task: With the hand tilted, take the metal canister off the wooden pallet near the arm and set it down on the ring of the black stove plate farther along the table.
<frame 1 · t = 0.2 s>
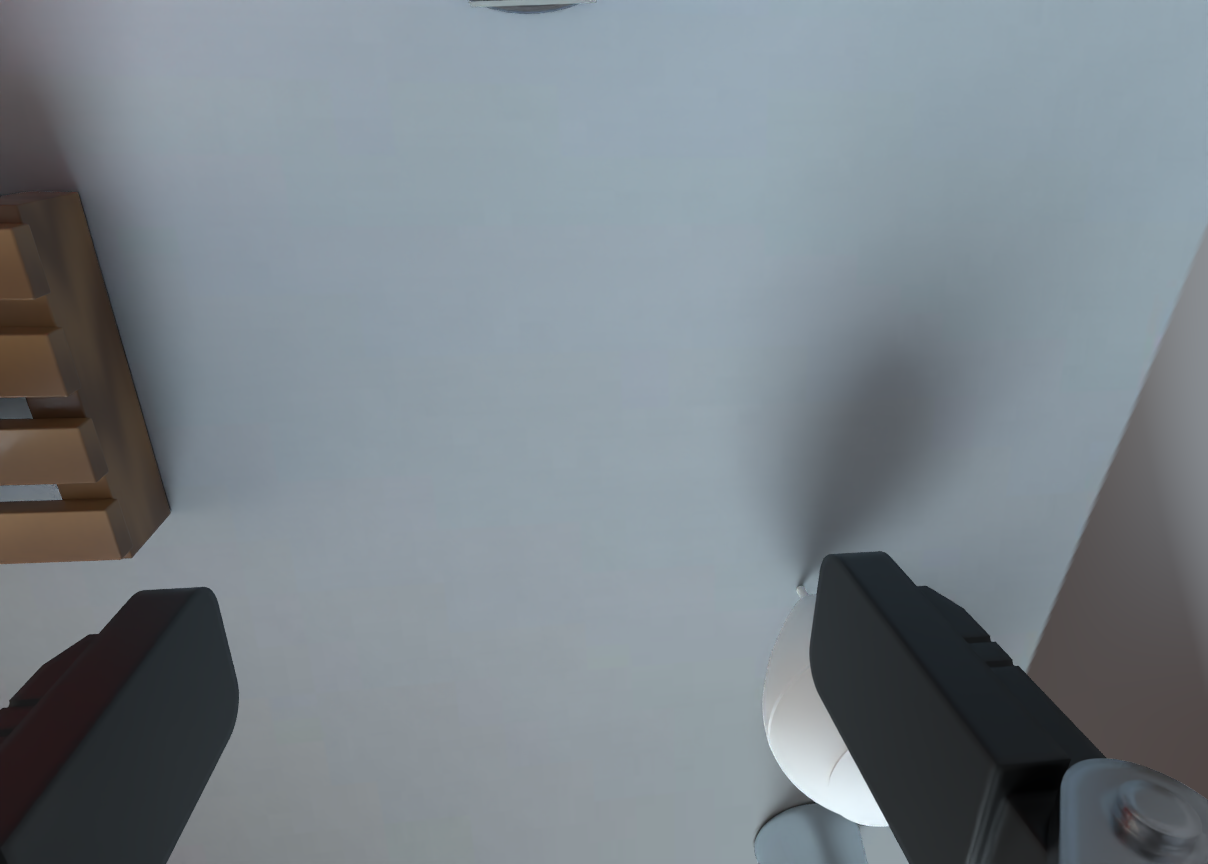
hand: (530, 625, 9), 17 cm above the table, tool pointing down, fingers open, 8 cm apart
spinning top: (798, 584, 32), on the table
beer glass: (803, 834, 40), on the table
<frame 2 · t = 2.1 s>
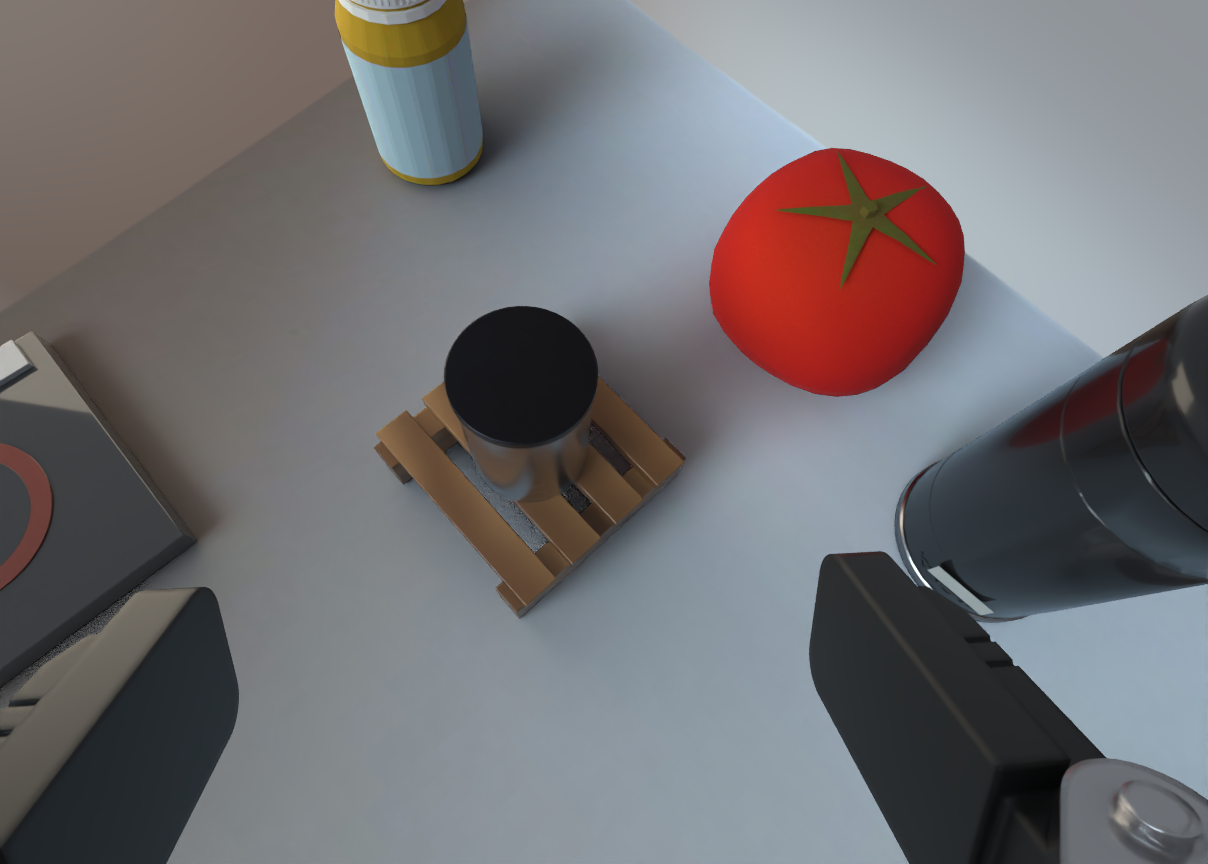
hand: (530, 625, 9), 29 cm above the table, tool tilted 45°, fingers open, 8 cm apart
tomato: (799, 326, 45), on the table
metal canister: (530, 447, 36), point 4 cm above the table, touching wooden pallet
bottle: (433, 152, 48), on the table
wooden pallet: (533, 469, 40), on the table
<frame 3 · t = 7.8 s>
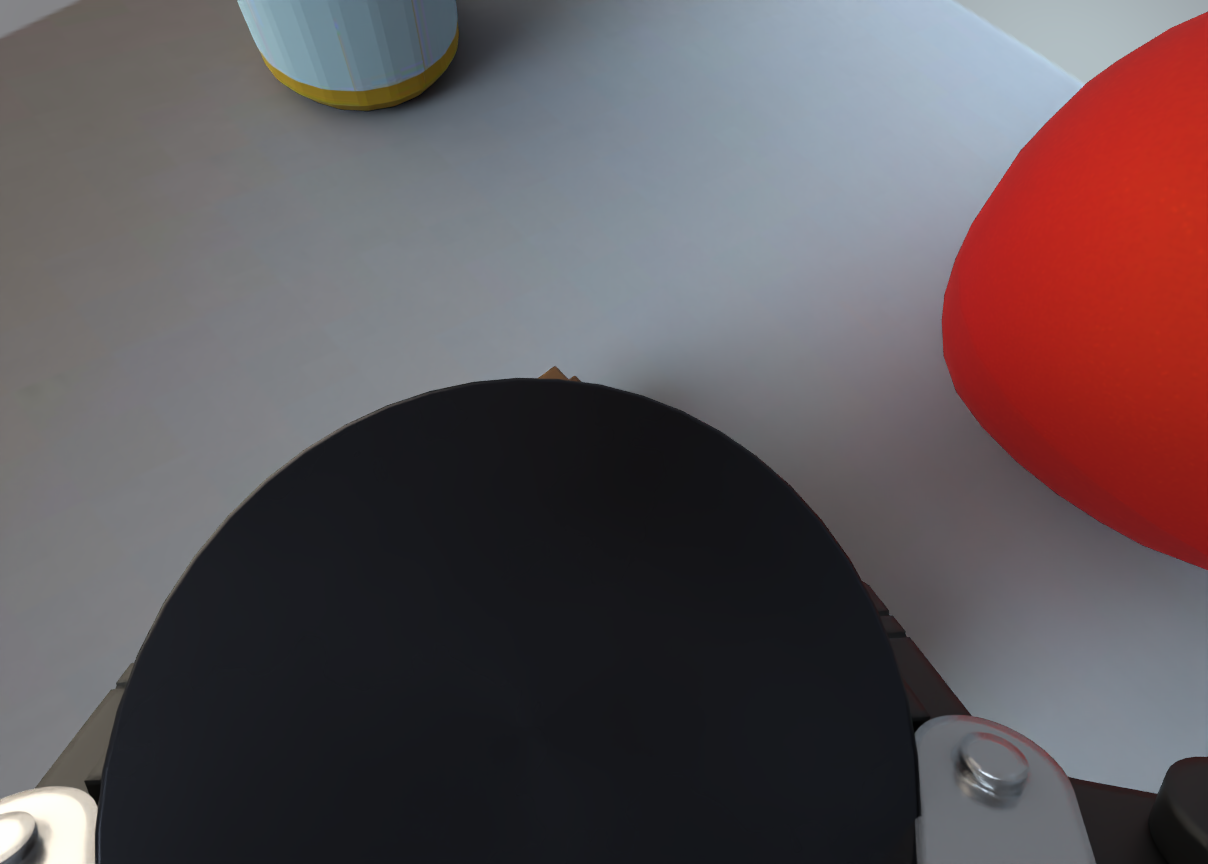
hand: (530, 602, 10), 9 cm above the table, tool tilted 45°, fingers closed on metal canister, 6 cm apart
tomato: (1079, 398, 22), on the table
metal canister: (540, 730, 14), point 4 cm above the table, touching wooden pallet, gripper
bottle: (366, 55, 26), on the table
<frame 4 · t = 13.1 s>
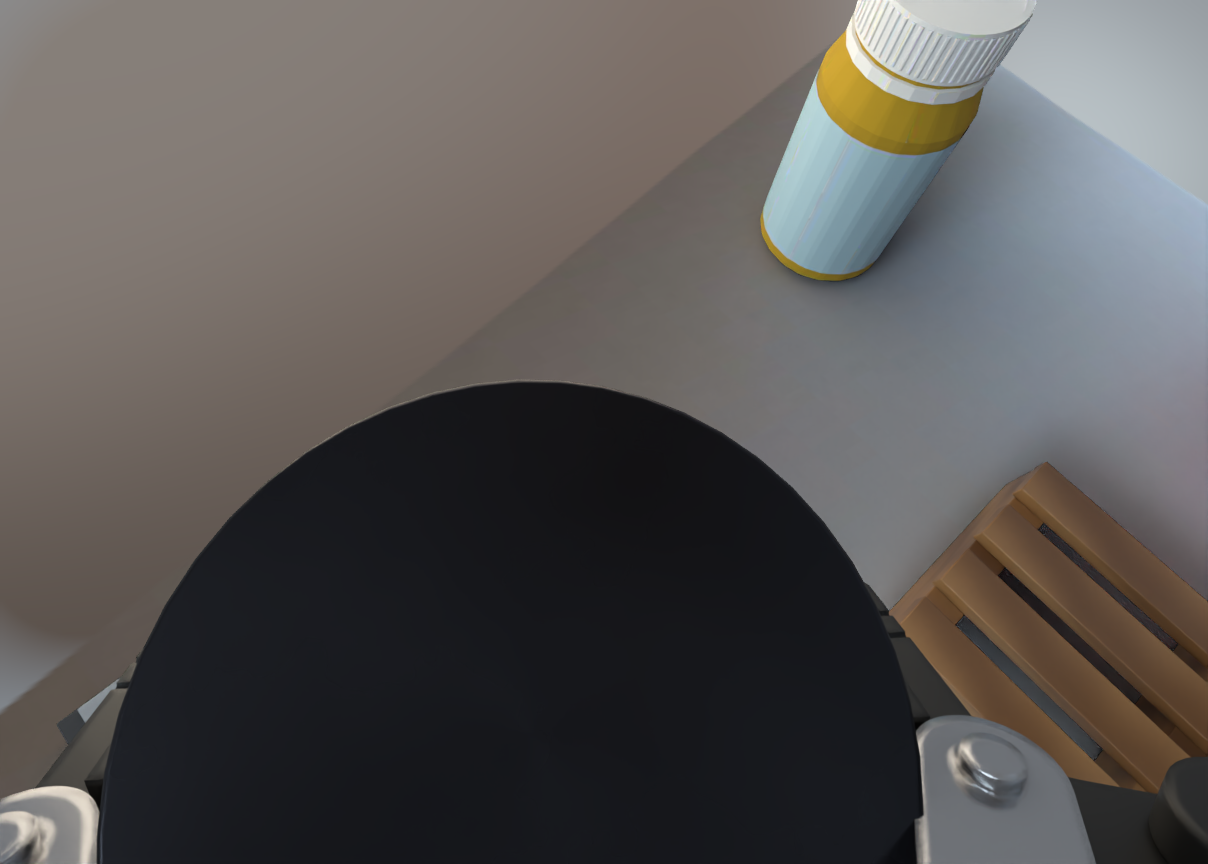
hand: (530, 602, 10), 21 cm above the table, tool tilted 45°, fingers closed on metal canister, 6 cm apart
metal canister: (540, 731, 14), point 17 cm above the table, touching gripper
bottle: (816, 238, 40), on the table
stove: (365, 740, 28), on the table
wooden pallet: (1034, 659, 31), on the table
when the fingers open (6 cm above the table, at t = 18.6 s): metal canister stays where it is, resting on stove.
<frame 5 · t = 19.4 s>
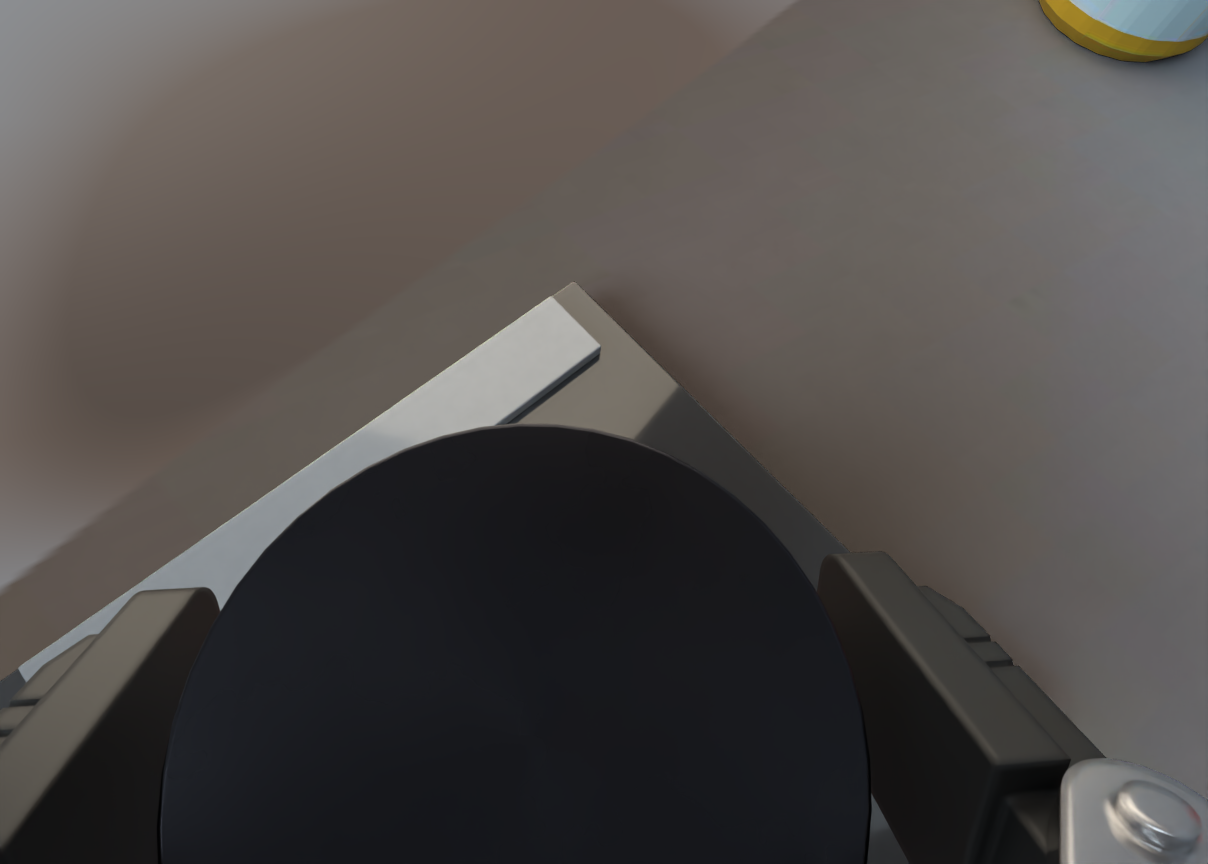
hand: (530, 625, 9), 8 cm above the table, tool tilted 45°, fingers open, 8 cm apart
metal canister: (539, 734, 14), point 2 cm above the table, touching stove
bottle: (1107, 13, 28), on the table
stove: (538, 727, 16), on the table
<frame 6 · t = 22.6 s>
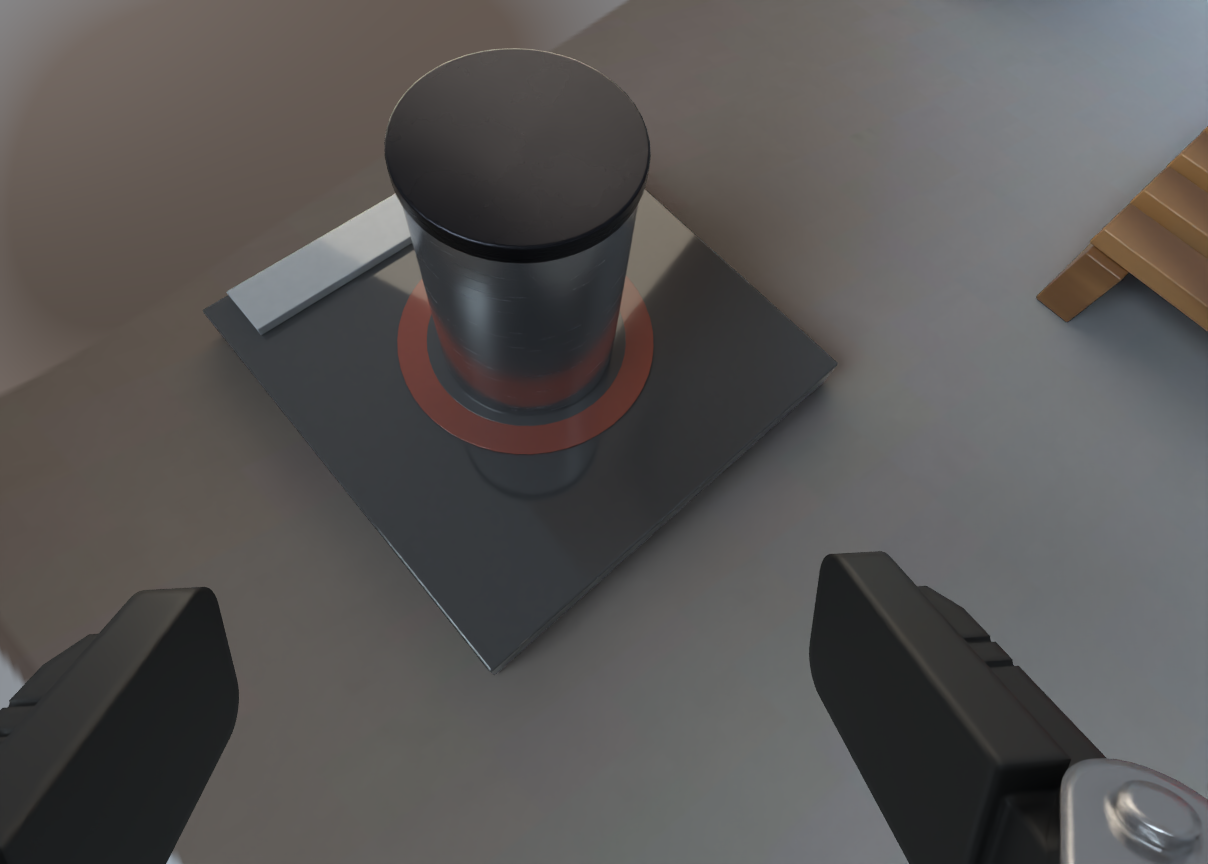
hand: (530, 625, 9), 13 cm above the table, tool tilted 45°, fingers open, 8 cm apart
metal canister: (528, 338, 25), point 2 cm above the table, touching stove
stove: (528, 357, 26), on the table
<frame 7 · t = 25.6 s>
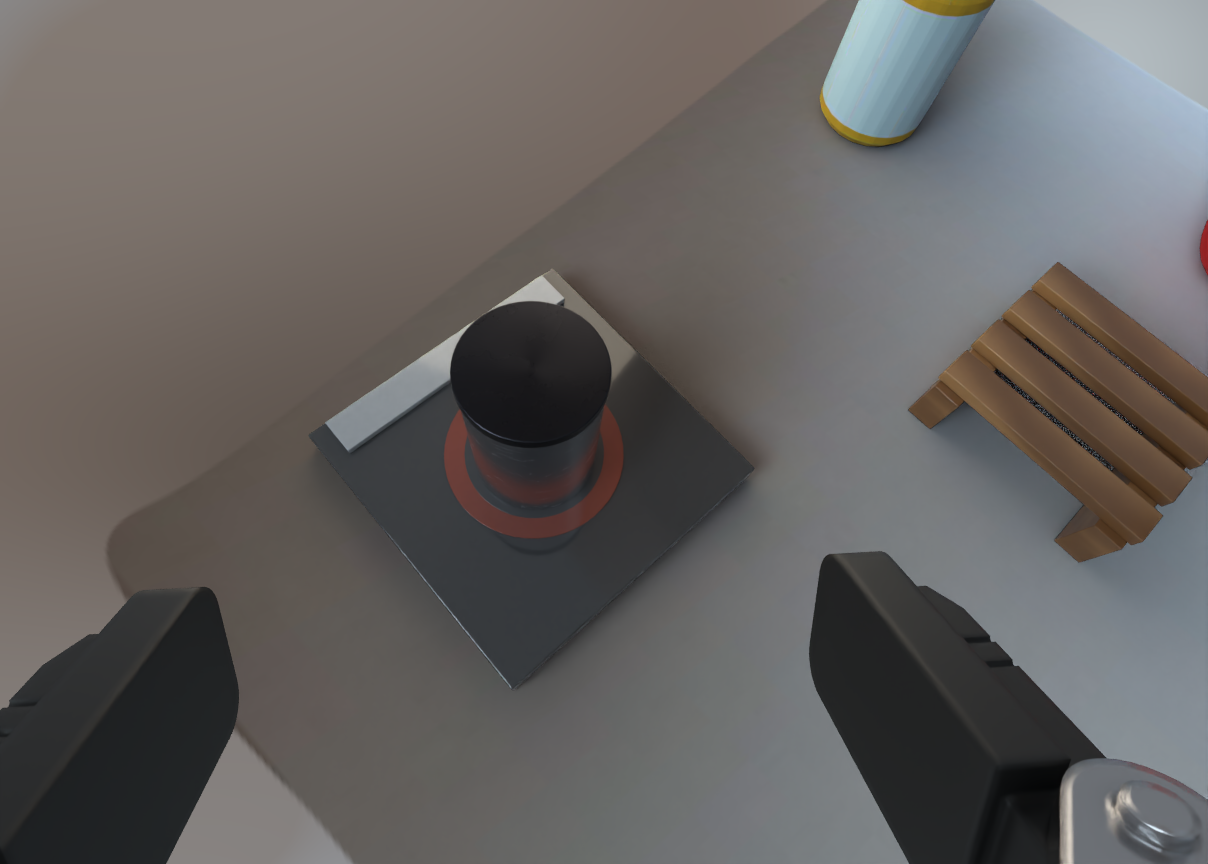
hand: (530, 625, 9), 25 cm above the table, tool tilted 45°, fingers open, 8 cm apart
metal canister: (535, 453, 35), point 2 cm above the table, touching stove
bottle: (864, 116, 49), on the table
stove: (535, 462, 36), on the table
wooden pallet: (1049, 418, 40), on the table
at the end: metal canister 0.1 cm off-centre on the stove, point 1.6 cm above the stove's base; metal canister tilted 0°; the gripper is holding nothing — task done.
